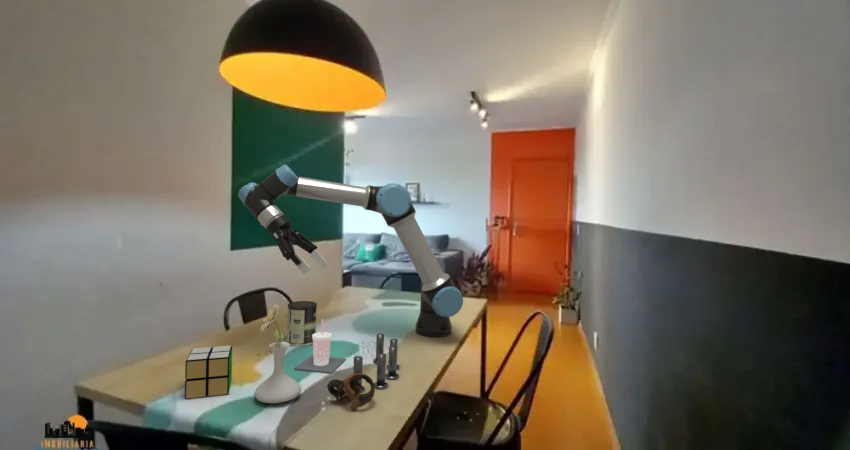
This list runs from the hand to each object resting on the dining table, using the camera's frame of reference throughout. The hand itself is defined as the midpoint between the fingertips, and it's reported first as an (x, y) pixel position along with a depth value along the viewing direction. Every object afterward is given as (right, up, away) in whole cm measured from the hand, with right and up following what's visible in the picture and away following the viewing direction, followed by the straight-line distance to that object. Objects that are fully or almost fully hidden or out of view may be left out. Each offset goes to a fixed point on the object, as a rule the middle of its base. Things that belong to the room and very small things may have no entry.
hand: (316, 268), depth 138 cm
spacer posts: (+23, -31, -14) cm, 41 cm away
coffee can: (-9, -29, +14) cm, 33 cm away
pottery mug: (+17, -31, -32) cm, 48 cm away
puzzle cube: (-21, -30, -27) cm, 45 cm away
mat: (+3, -29, -7) cm, 31 cm away
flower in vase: (-2, -30, -31) cm, 44 cm away
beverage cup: (+3, -29, -7) cm, 30 cm away
